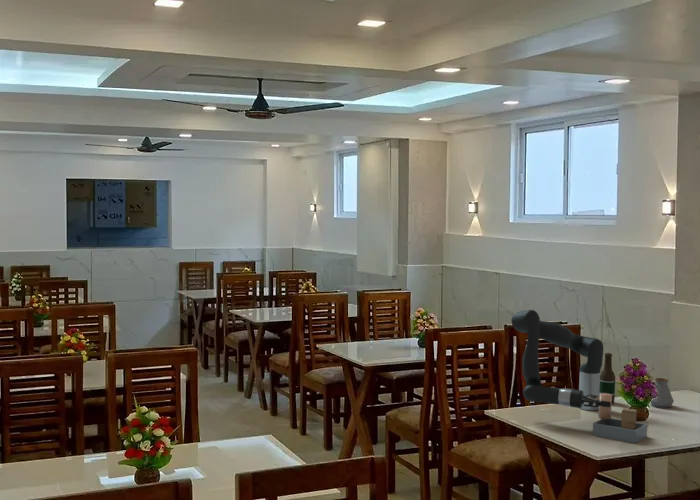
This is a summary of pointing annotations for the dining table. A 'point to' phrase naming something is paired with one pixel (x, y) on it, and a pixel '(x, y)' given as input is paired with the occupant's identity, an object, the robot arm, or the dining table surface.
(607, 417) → the terracotta cylinder
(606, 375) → the beer bottle
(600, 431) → the blue-gray tote
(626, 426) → the walnut block
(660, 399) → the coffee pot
